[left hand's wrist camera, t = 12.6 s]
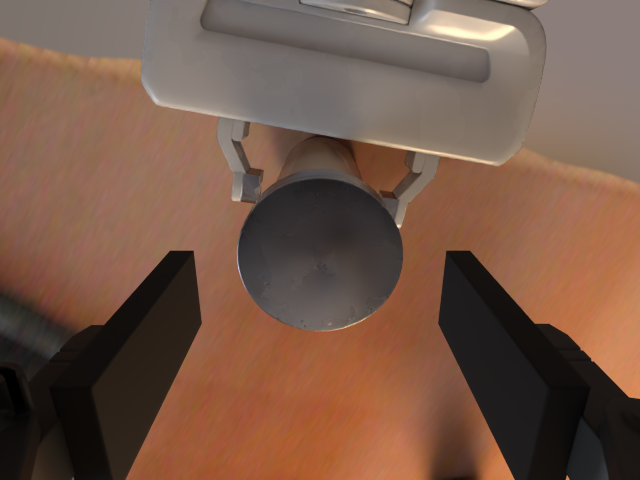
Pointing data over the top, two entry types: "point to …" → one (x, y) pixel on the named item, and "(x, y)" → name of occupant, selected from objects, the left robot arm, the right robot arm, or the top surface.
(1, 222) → the top surface
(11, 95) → the top surface
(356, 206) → the lid
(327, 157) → the screw-top jar
